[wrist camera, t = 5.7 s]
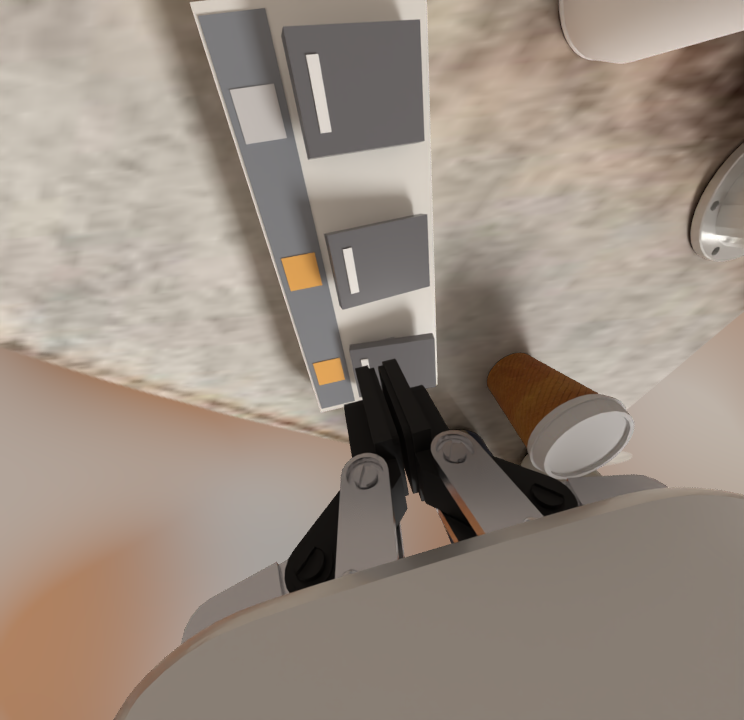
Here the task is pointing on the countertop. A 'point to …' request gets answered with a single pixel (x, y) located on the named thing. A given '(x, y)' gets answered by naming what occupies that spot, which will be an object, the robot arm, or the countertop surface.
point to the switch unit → (318, 179)
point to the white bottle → (645, 26)
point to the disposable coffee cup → (559, 417)
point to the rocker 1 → (356, 85)
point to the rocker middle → (379, 259)
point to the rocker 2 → (399, 357)
